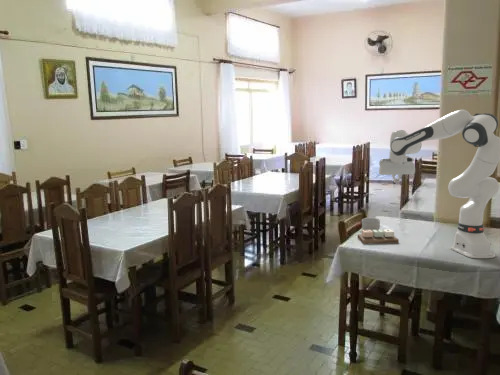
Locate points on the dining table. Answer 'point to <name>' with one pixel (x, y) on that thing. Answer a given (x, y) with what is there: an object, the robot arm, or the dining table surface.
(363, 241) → the brown flat board
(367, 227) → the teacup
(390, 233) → the key one
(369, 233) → the key three
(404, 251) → the dining table surface
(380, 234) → the key two
